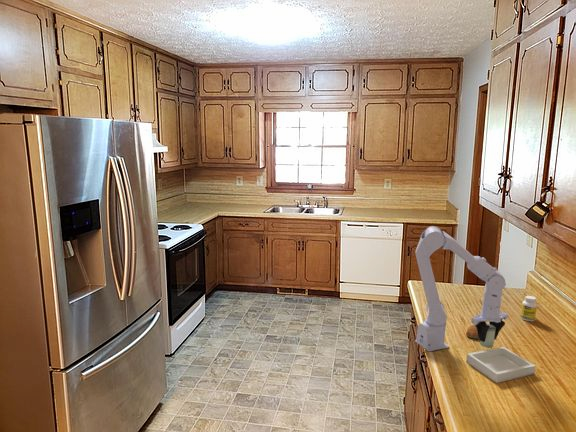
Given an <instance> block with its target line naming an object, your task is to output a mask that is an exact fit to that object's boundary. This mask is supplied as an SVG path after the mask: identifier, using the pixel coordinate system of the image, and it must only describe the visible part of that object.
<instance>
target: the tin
mask: <svg viewBox="0 0 576 432" xmlns="http://www.w3.org/2000/svg"><path fill="white" fill-rule="evenodd" d="M486 325H488V326H490V328H489V329H488V331H487V334H486V339H485V342H482V341H480V340H479V344H480V346H481V347H484V348H488V349H493V348H494V343H495V340H494V337H495V330H496V327H495V326H493V325H490V323H486Z"/></svg>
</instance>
